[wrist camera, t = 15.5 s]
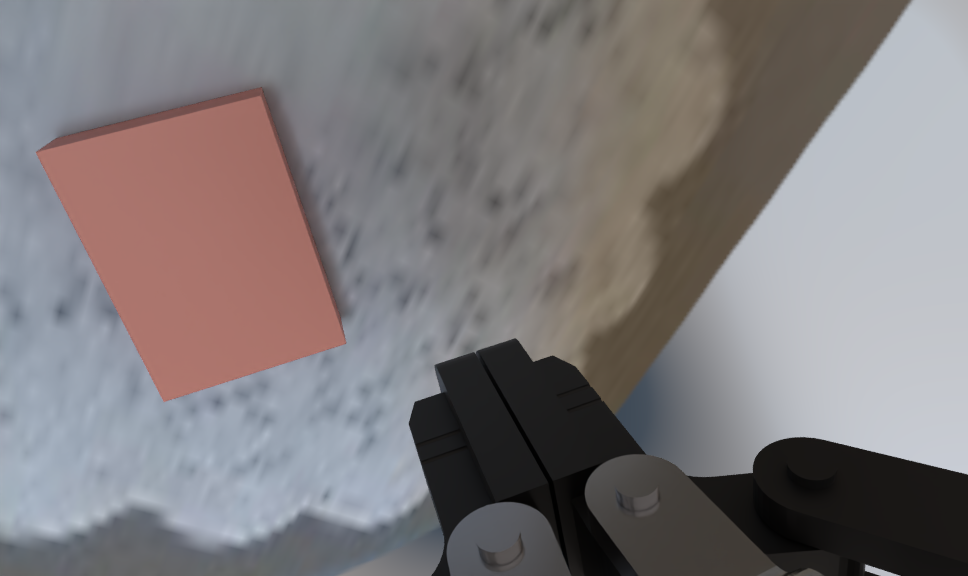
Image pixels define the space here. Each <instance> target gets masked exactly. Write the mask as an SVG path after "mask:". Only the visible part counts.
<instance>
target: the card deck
mask: <svg viewBox="0 0 968 576" xmlns="http://www.w3.org/2000/svg"><path fill="white" fill-rule="evenodd" d="M36 154H37V156H38V158H39V160H40V162H41V164H42V166H43V168H44V169H45V171H46V173H47V175H48V177H49V179H50V181H51V183H52V185H53V187H54V189H55V191H56V193H57V195H58V197H59V199H60V201H61V203H62V205H63V206H64V208H65V210H66V212H67V214H68V216H69V218H70V220H71V222H72V224H73V226H74V228H75V230H76V232H77V234H78V236H79V238H80V240H81V242H82V243H83V245H84V247H85V249H86V251H87V253H88V255H89V257H90V259H91V261H92V263H93V265H94V267H95V269H96V271H97V273H98V275H99V277H100V279H101V280H102V282H103V284H104V286H105V288H106V290H107V292H108V294H109V296H110V298H111V300H112V302H113V304H114V306H115V308H116V310H117V312H118V314H119V316H120V317H121V319H122V321H123V323H124V325H125V327H126V329H127V331H128V333H129V335H130V337H131V339H132V341H133V343H134V345H135V347H136V349H137V351H138V353H139V354H140V356H141V358H142V360H143V362H144V364H145V366H146V368H147V370H148V372H149V374H150V376H151V378H152V380H153V382H154V384H155V386H156V388H157V390H158V391H159V393H160V395H161V397H162V399H163V401H164V402H165V401H168V400H171V399H175V398H178V397H181V396H184V395H187V394H190V393H193V392H196V391H200V390H203V389H206V388H209V387H212V386H215V385H218V384H222V383H225V382H228V381H231V380H234V379H237V378H240V377H243V376H247V375H250V374H253V373H256V372H259V371H262V370H265V369H268V368H272V367H275V366H278V365H281V364H284V363H287V362H290V361H293V360H297V359H300V358H303V357H306V356H309V355H312V354H315V353H319V352H322V351H325V350H328V349H331V348H334V347H337V346H340V345H344V344H346V340H345V335H344V330H343V326H342V321H341V317H340V314H339V311H338V309H337V306H336V303H335V300H334V297H333V294H332V291H331V288H330V285H329V282H328V279H327V277H326V274H325V271H324V268H323V265H322V262H321V259H320V256H319V253H318V250H317V247H316V244H315V242H314V239H313V236H312V233H311V230H310V227H309V224H308V221H307V218H306V215H305V212H304V210H303V207H302V204H301V201H300V198H299V195H298V192H297V189H296V186H295V183H294V180H293V177H292V175H291V172H290V169H289V166H288V163H287V160H286V157H285V154H284V151H283V148H282V145H281V143H280V140H279V137H278V134H277V131H276V128H275V125H274V122H273V119H272V116H271V113H270V110H269V108H268V105H267V102H266V99H265V96H264V93H263V90H262V87H260V88H256V89H252V90H248V91H244V92H240V93H236V94H232V95H228V96H224V97H220V98H216V99H212V100H208V101H204V102H200V103H196V104H192V105H188V106H184V107H180V108H176V109H172V110H168V111H164V112H160V113H156V114H152V115H148V116H144V117H140V118H136V119H132V120H128V121H124V122H120V123H116V124H112V125H108V126H104V127H100V128H96V129H92V130H88V131H84V132H80V133H76V134H72V135H68V136H64V137H60V138H56V139H54V140H53V141H51V142H50V143H49V144H47V145H46V146H44V147H43V148H41V149H40V150H38V151H37V152H36Z"/></svg>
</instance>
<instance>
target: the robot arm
mask: <svg viewBox="0 0 968 576" xmlns="http://www.w3.org/2000/svg"><path fill="white" fill-rule="evenodd" d="M435 371H436V375H437V379H438V382H439V386H440V390H441V393H440V394H437V395H434V396H431V397H428V398H425V399H422V400H419V401H416V402H415V403H414V407H413V410H412V414H411V417H410V421H409V426H410V430H411V433H412V436H413V439H414V443H415V446H416V449H417V452H418V456H419V459H420V462H421V465H422V469H423V472H424V475H425V478H426V482H427V485H428V488H429V491H430V495H431V498H432V501H433V504H434V507H435V510H436V513H437V516H438V520H439V523H440V526H441V529H442V532H443V535H444V543H445V545H444V550H443V555H442V557H441V561H440V563H439V564H438V567H437V568H436V570H435V572H434V573H433V574H432V576H879V575H876V574H873V573H870V572H867V571H865V564H866V565H869V566H872V567H875V568H878V569H882V570H885V571H887V572H891V573H894V574H897V575H900V576H968V475H967V474H963V473H959V472H955V471H950V470H947V469H942V468H938V467H934V466H930V465H926V464H922V463H917V462H913V461H909V460H905V459H901V458H897V457H892V456H888V455H884V454H879V453H876V452H871V451H867V450H863V449H859V448H855V447H851V446H847V445H842V444H838V443H834V442H830V441H826V440H821V439H816V438H806V437H800V438H799V437H797V438H796V437H795V438H788V439H783V440H779V441H776V442H774V443H771V444H769V445H768V446H766V447H765V448H763V449H762V450H761V451H760V452H759V453H758V455H757V456H756V458H755V461H754V464H753V473H748V474H738V475H727V476H717V477H692V476H686V475H685V474H684V473H683V472H682V471H681V470H680V469H679V468H678V467H677V466H676V465H674V464H672V463H671V462H669V461H667V460H664V459H662V458H659V457H655V456H651V455H646V454H645V452H644V451H643V450H642V449H641V448H640V446H639V445H638V444H637V443H636V441H635V440H634V439H633V438H632V436H631V435H630V434H629V433H628V431H627V430H626V429H625V428H624V426H623V425H622V424H621V423H620V421H619V420H618V419H617V418H616V416H615V415H614V414H613V413H612V411H611V410H610V409H609V408H608V406H607V405H606V404H605V403H604V401H603V402H602V401H601V398H600V396H599V395H598V394H597V393H596V392H595V390H594V389H593V388H592V387H590V385H589V383H588V382H587V380H586V379H585V378H584V377H583V375H582V374H581V373H580V372H579V370H578V369H577V368H576V367H575V366H573V365H571V364H569V363H567V362H565V361H563V360H561V359H559V358H557V357H555V356H550V357H547V358H544V359H541V360H538V361H535V362H533V361H532V360H531V358H530V357H529V355H528V354H527V352H526V351H525V350H524V348H523V347H522V345H521V344H520V343H519V341H518V340H517V339H512V340H509V341H506V342H503V343H499V344H496V345H493V346H490V347H487V348H484V349H481V350H478V351H476V354H475V353H474V352H473V353H469V354H466V355H463V356H460V357H457V358H454V359H451V360H448V361H445V362H442V363H439V364H436V365H435Z"/></svg>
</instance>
